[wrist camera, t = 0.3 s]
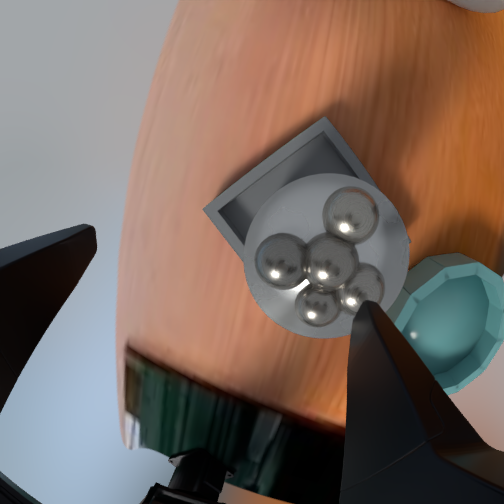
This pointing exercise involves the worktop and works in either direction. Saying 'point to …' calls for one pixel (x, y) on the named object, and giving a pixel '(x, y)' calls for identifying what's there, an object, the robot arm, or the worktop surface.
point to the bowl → (451, 317)
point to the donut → (480, 5)
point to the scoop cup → (325, 254)
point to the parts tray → (282, 178)
